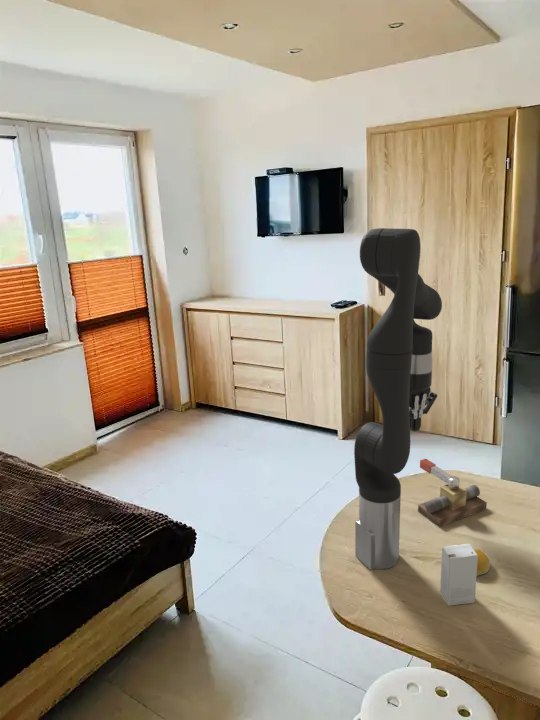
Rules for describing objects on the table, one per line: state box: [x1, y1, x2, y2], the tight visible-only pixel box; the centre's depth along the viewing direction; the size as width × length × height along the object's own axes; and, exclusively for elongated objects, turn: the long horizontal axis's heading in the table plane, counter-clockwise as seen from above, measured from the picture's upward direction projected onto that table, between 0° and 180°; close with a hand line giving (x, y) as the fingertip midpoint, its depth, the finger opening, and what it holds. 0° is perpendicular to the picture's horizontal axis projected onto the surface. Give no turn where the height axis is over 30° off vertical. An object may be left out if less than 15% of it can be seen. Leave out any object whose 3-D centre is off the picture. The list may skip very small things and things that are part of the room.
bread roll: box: [457, 543, 491, 577], centre depth 128 cm, size 8×9×4 cm
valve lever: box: [419, 458, 461, 489], centre depth 150 cm, size 13×3×2 cm, turn 26°
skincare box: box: [439, 543, 478, 607], centre depth 116 cm, size 6×4×12 cm
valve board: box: [417, 483, 488, 528], centre depth 147 cm, size 16×8×7 cm, turn 116°
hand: (414, 429), depth 149 cm, fingers closed
